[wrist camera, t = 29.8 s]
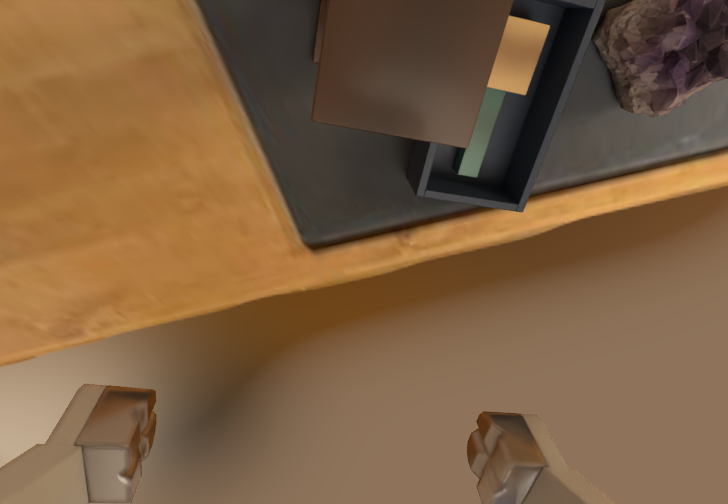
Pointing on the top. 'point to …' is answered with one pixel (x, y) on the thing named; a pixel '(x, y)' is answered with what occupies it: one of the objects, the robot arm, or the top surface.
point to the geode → (663, 51)
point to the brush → (503, 86)
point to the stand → (406, 65)
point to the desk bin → (516, 117)
